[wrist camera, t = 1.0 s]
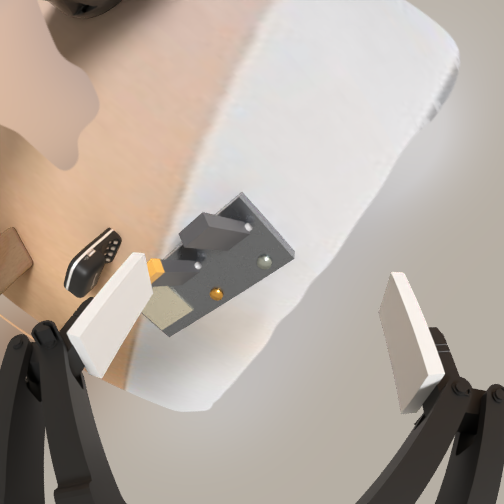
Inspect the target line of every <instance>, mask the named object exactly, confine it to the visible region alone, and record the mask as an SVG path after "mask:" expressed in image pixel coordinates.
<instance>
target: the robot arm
mask: <svg viewBox="0 0 504 504" xmlns="http://www.w3.org/2000/svg"><path fill="white" fill-rule="evenodd" d="M46 1H49V2H50V3H51V4H52V5H54V6H55V7H56V8H58V9H59V10H60V11H61V12H63V13H64V14H66V15H68V16H72V17H78V18H91V17H94V16H97V15H100V14H102V13H104V12H106V11H108V10H109V9H111V8H112V7H114V6H115V5H116V4H118V3H119V2H120V1H121V0H46ZM152 294H153V290H152V286H151V281H150V277H149V272H148V267H147V263H146V258H145V253H135V252H133V253H132V254H131V255H130V256H129V257H128V259H127V260H126V261H125V262H124V263H123V264H122V265H121V267H120V268H119V269H118V270H117V271H116V272H115V273H114V275H113V276H112V277H111V278H110V279H109V281H108V282H107V283H106V284H105V285H104V286H103V288H102V289H101V290H100V291H99V293H98V294H97V295H96V296H95V297H90V298H88V299H87V300H85V301H84V302H83V303H82V304H81V305H80V306H79V308H78V309H77V311H75V313H74V314H73V316H71V317H70V319H69V320H68V321H67V323H66V324H65V325H64V326H63V328H62V329H61V330H60V332H59V331H58V329H57V327H56V325H55V323H54V322H52V321H49V320H46V321H42V322H40V323H38V324H37V325H36V326H35V327H34V328H33V330H32V333H31V334H32V337H33V338H34V340H35V342H30V341H29V339H28V337H27V336H26V335H24V334H23V335H22V334H20V335H17V336H15V337H13V338H12V339H11V340H10V342H9V344H8V346H7V349H6V352H5V355H4V359H3V362H2V365H1V369H0V504H45V498H44V438H45V437H44V436H45V427H46V433H47V439H48V444H49V449H50V454H51V459H52V463H53V467H54V471H55V475H56V479H57V483H58V488H57V489H56V490H54V499H55V502H56V504H126V503H125V501H124V500H123V498H122V496H121V494H120V491H119V489H118V487H117V484H116V482H115V479H114V477H113V474H112V472H111V469H110V466H109V464H108V461H107V458H106V456H105V453H104V449H103V447H102V444H101V440H100V437H99V434H98V431H97V428H96V424H95V421H94V417H93V413H92V409H91V405H90V401H89V397H88V394H87V389H86V384H85V380H84V376H83V374H82V370H83V368H84V367H85V368H86V370H87V371H88V373H89V374H90V375H93V376H96V377H99V378H103V376H104V374H105V372H106V371H107V369H108V367H109V365H110V364H111V362H112V360H113V358H114V357H115V355H116V353H117V352H118V350H119V348H120V346H121V345H122V343H123V341H124V340H125V338H126V336H127V335H128V333H129V331H130V330H131V328H132V327H133V325H134V323H135V322H136V320H137V318H138V317H139V315H140V314H141V312H142V310H143V309H144V307H145V306H146V304H147V302H148V301H149V299H150V298H151V296H152ZM379 316H380V320H381V324H382V328H383V331H384V335H385V339H386V343H387V347H388V352H389V356H390V360H391V365H392V369H393V374H394V379H395V383H396V389H397V394H398V398H399V405H400V410H401V414H405V413H416V412H417V411H418V410H419V409H420V408H421V406H422V405H423V410H424V413H423V414H422V416H421V417H420V418H419V419H418V420H417V422H416V423H415V427H414V429H413V430H412V431H411V433H410V435H409V436H408V438H407V439H406V440H405V442H404V443H403V445H402V446H401V448H400V449H399V450H398V452H397V453H396V455H395V456H394V457H393V459H392V460H391V461H390V463H389V464H388V465H387V467H386V468H385V469H384V471H383V472H382V473H381V475H380V476H379V477H378V478H377V480H376V481H375V482H374V483H373V484H372V485H371V487H370V488H369V489H368V490H367V491H366V492H365V494H364V495H363V496H362V497H361V498H360V499H359V500H358V501H357V503H356V504H415V502H416V501H417V499H418V498H419V497H420V495H421V494H422V492H423V491H424V489H425V487H426V486H427V484H428V483H429V481H430V479H431V478H432V476H433V475H434V473H435V471H436V470H437V468H438V466H439V464H440V462H441V461H442V459H443V457H444V455H445V454H446V452H447V450H448V448H449V446H450V444H451V442H452V440H453V438H454V436H455V438H454V443H453V447H452V451H451V455H450V459H449V462H448V466H447V469H446V473H445V476H444V479H443V482H442V485H441V489H440V491H439V494H438V497H437V500H436V502H435V504H496V500H497V496H498V491H499V487H500V482H501V477H502V471H503V466H504V387H503V386H501V385H499V384H494V385H491V386H490V387H489V388H488V390H487V391H483V390H478V389H473V388H472V386H471V385H470V383H469V382H468V381H467V380H466V379H465V378H462V377H460V376H459V374H458V371H457V368H456V366H455V363H454V360H453V358H452V355H451V353H450V352H449V351H450V350H449V348H448V345H447V343H446V340H445V338H444V336H443V334H442V333H441V332H440V331H439V330H438V328H436V327H433V328H432V327H430V328H429V327H428V326H427V324H426V321H425V319H424V316H423V314H422V311H421V309H420V307H419V304H418V302H417V300H416V298H415V295H414V293H413V291H412V289H411V287H410V285H409V282H408V280H407V278H406V276H405V274H404V273H401V272H391V274H390V277H389V281H388V284H387V287H386V291H385V294H384V297H383V301H382V303H381V306H380V310H379ZM26 377H27V378H26Z"/></svg>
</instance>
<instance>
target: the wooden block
mask: <svg viewBox="0 0 504 504" xmlns="http://www.w3.org/2000/svg"><path fill="white" fill-rule="evenodd" d="M32 263H33V262H32V259H31V258H30V256H29V254H28V252H27V251H26V249H25V247H24V245H23V243H22V241H21V240H20V238H19V236H18V234H17V232H16V230H15V229H14V228H13V227H12V228H9V229H7V230H6V231H4V232H3V233H2V234H0V295H1V294H2V293H3V292H4V291H5V290H6V289H7V288H8V287H9V286H10V285H11V284H12V283H13V282H14V281H16V280H17V279H18V278H19V277H20V276H21V275H22V274H23V273H24V272H25V271H27V270H28V269H29V268H30V267H31V266H32Z"/></svg>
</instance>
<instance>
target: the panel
mask: <svg viewBox="0 0 504 504" xmlns="http://www.w3.org/2000/svg"><path fill="white" fill-rule="evenodd" d="M215 215H216V216H221V217H225V218H229V219H234V220H238V221H242V222H245V224H247V223H249V224H250V225H251V226H252V230H251V231H249V232H250V235H248V236H247V237H246V238H244V239H243V240H242V241H240V242H239V243H238V244H236V245H235V246H234V247H232V248H231V249H230V250H228V251H221V250H209V249H197V248H184V245H183V243H181V244H180V245H179V246H178V247H176V248H175V249H174V250H173V251H172V252H171V253H170V254H169V255H167V256H166V257H165V258H164V259H163V260H189V261H195V262H200V263H201V265H202V267H201V268H200V269H199V273H198V274H196V275H195V276H194V277H192V278H191V279H190V280H188V281H187V282H186V283H184V284H183V285H177V286H158V287H152V290H153V294H152V296H151V298H150V299H149V301H148V302H147V304H146V306H145V307H144V309H143V310H142V312H141V313H142V314H143V315H145V316H146V317H147V318H148V319H149V320H150V321H151V322H152V323H154V324H155V325H156V326H157V327H158V328H159V329H160V330H162V331H163V332H164V333H165V334H166V335H167V336H169V337H170V336H172V335H173V334H175V333H177V332H178V331H180V330H182V329H183V328H185V327H187V326H188V325H190V324H191V323H193V322H195V321H196V320H198V319H200V318H201V317H203V316H205V315H206V314H208V313H209V312H211V311H213V310H214V309H216V308H217V307H219V306H221V305H222V304H224V303H225V302H227V301H229V300H230V299H232V298H233V297H235V296H237V295H238V294H240V293H241V292H243V291H245V290H246V289H248V288H249V287H251V286H252V285H254V284H256V283H257V282H259V281H260V280H262V279H263V278H265V277H267V276H268V275H270V274H271V273H273V272H274V271H276V270H277V269H279V268H280V267H282V266H284V265H285V264H287V263H288V262H290V261H291V260H293V259H294V252H295V251H294V250H293V249H292V248H291V247H290V246H289V244H288V243H287V242H286V241H285V240H284V239H283V237H282V236H281V235H280V234H279V233H278V232H277V231H276V230H275V228H274V227H273V226H272V225H271V224H270V223H269V222H268V220H267V219H266V218H265V217H264V216H263V215H262V214H261V213H260V211H259V210H258V209H257V208H256V207H255V206H254V205H253V204H252V203H251V201H250V200H249V199H248V198H247V197H246V196H245V195H244V194H243V193H242V192H241V193H240V194H239V195H238V196H236V197H235V198H234V199H233V200H232V201H230V202H229V203H228V204H227V205H226V206H224V207H223V208H222V209H221V210H220V211H218V212H217V213H216V214H215Z"/></svg>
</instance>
